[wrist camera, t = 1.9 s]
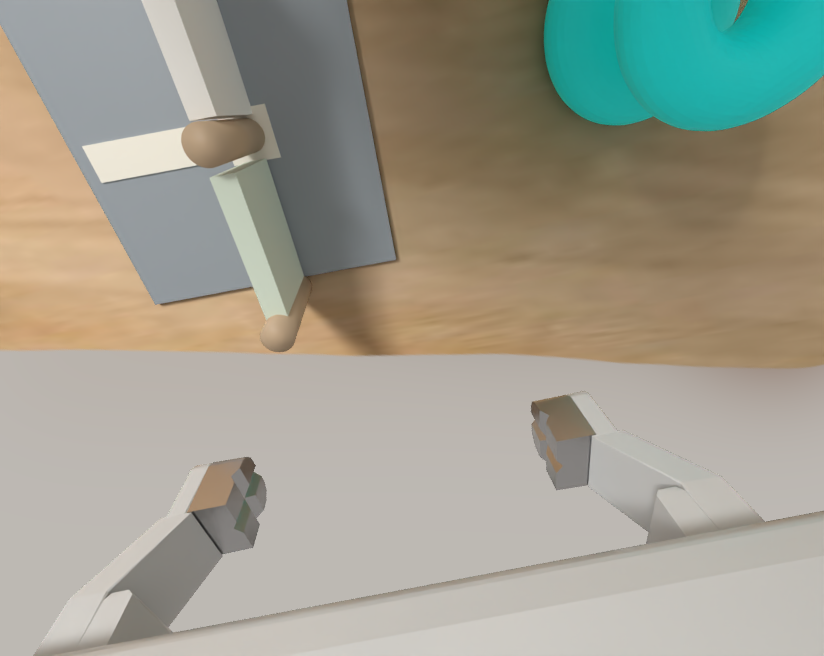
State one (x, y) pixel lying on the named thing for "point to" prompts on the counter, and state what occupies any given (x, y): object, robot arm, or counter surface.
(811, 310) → the counter surface
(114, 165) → the board
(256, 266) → the fence panel
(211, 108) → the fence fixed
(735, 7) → the donuts
